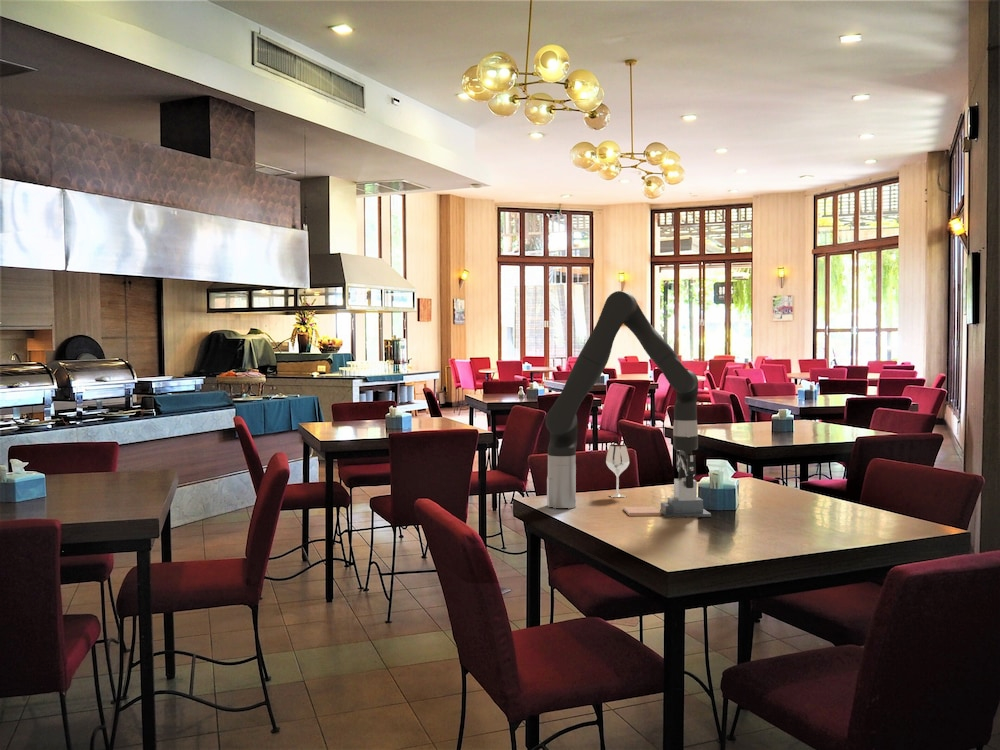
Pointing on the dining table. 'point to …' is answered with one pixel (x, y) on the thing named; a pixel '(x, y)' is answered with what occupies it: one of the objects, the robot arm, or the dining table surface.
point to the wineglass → (617, 462)
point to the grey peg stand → (683, 508)
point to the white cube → (684, 490)
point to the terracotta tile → (642, 511)
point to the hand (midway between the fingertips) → (686, 485)
